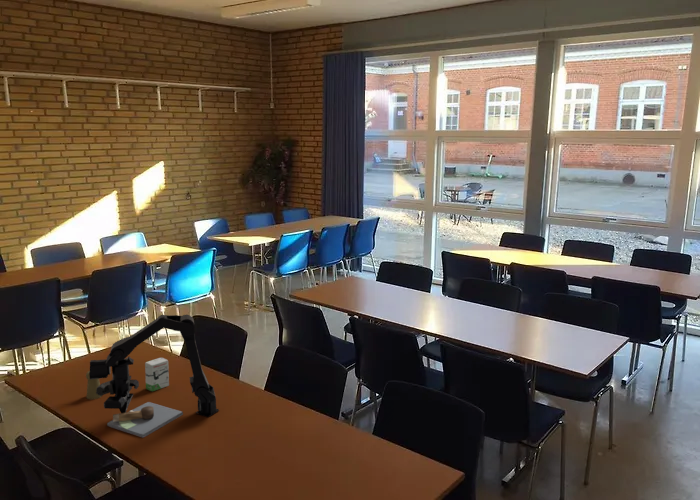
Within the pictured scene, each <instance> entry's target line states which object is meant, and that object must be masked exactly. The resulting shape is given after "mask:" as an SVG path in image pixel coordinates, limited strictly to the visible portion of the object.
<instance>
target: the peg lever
mask: <svg viewBox="0 0 700 500" xmlns="http://www.w3.org/2000/svg"><path fill="white" fill-rule="evenodd" d="M152 417H154V408H153V407H151V406H147V407H143V408H142V409H141V410H140V411H133V412H129V411H126V413H121V412H120V413H115V414H112V420H113V422H116V421H126V420H133V419H140V418H143V419H150V418H152Z"/></svg>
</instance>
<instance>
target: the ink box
mask: <svg viewBox="0 0 700 500" xmlns="http://www.w3.org/2000/svg"><path fill="white" fill-rule="evenodd" d="M144 367H145V369H144V373H145V389H146V390H148V391H150V392H155V391H157V390H158V391H159V390H160V389H164V388H165V387H166V388H167V387H168V386H170V380H169V379H170V377H169V372H170V371H169V360H168V359H167V358H164V357H158V358H155V359H152V360H149V361H146V362H144Z"/></svg>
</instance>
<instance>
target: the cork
mask: <svg viewBox="0 0 700 500" xmlns="http://www.w3.org/2000/svg"><path fill="white" fill-rule="evenodd" d="M89 372H90V370H89V371H86V373H85V377H86V380H87V385H86V386H87V388H86V399H87V400H97V399H101V398H102V397H103V396H99V395H98V394H96V392H97V391H96V389H97V387H98V386H100V385H101V383H100V379H90V376H89Z"/></svg>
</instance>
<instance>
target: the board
mask: <svg viewBox="0 0 700 500" xmlns="http://www.w3.org/2000/svg"><path fill="white" fill-rule="evenodd" d="M147 406H151V407H153V408H154V417H152V418H150V419H143V418H140V419H133V420H126V421H116V422H113V419H112V420H110V421H109V422H107V427H110V428H112V429H116V430H118V431H122V432H124V433H128V434H131V435H134V436H137V437H140V438H145V437H147V436H149V435H150V434H152V433H154V432H156V431H157V430H159V429H160V428H163V427H165V426H166V425H168V424H169V423H171V422H173V421H174V420H176V419H178V418H180V417H181V416H184V413H183V410H182V411H181V410H178V409H174V408H171V407H167V406H164V405H161V404H158V403H153V402H151V401H147V402H145V403H142V404H141V405H139V406H137V407H135V408H133V409H131V410H129V411H128V412H133V411H140V410H141V409H142V408H143V407H147Z"/></svg>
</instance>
